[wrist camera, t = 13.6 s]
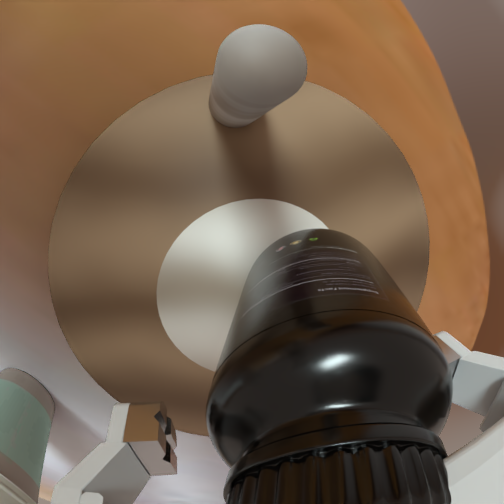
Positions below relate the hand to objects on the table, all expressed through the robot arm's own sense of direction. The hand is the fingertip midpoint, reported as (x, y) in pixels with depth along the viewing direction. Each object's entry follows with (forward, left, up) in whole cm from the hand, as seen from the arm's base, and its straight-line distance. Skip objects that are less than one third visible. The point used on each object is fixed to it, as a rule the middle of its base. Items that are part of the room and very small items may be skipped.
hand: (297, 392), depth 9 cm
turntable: (0, 0, -9) cm, 9 cm away
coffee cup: (+8, -20, -10) cm, 24 cm away
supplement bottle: (0, +3, -6) cm, 7 cm away
